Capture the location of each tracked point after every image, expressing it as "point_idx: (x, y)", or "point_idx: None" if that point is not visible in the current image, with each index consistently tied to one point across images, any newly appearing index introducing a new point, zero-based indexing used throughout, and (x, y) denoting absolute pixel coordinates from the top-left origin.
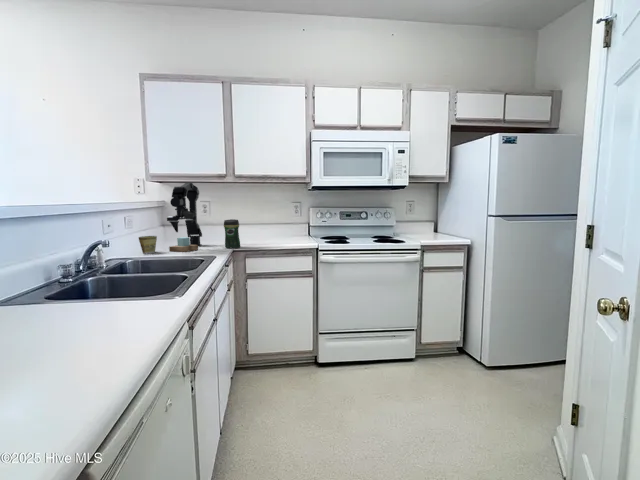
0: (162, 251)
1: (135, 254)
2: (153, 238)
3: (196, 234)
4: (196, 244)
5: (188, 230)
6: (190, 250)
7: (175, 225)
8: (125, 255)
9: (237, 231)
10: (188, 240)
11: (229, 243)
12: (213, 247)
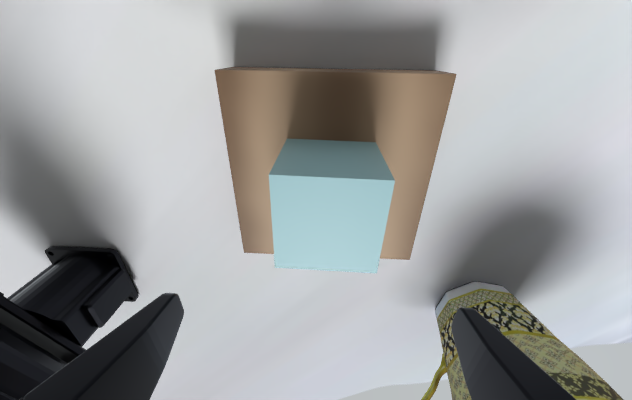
0: (405, 275)
1: (542, 323)
2: (572, 380)
3: (6, 327)
4: (93, 261)
5: (172, 306)
6: (343, 69)
7: None
8: (579, 340)
9: None
10: (294, 159)
11: None
12: (34, 17)
